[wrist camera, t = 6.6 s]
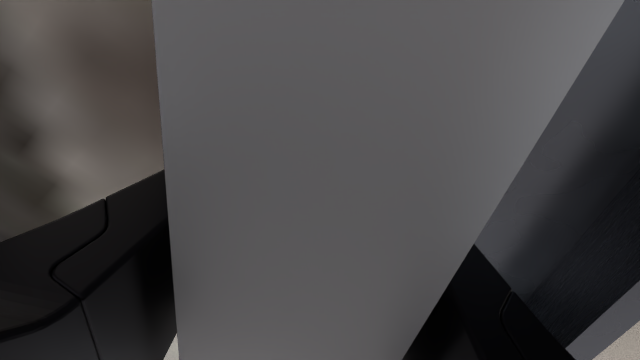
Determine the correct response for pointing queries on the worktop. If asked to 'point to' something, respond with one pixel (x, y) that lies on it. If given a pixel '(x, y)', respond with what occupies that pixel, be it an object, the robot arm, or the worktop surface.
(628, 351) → the worktop surface
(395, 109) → the panel
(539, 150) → the box
